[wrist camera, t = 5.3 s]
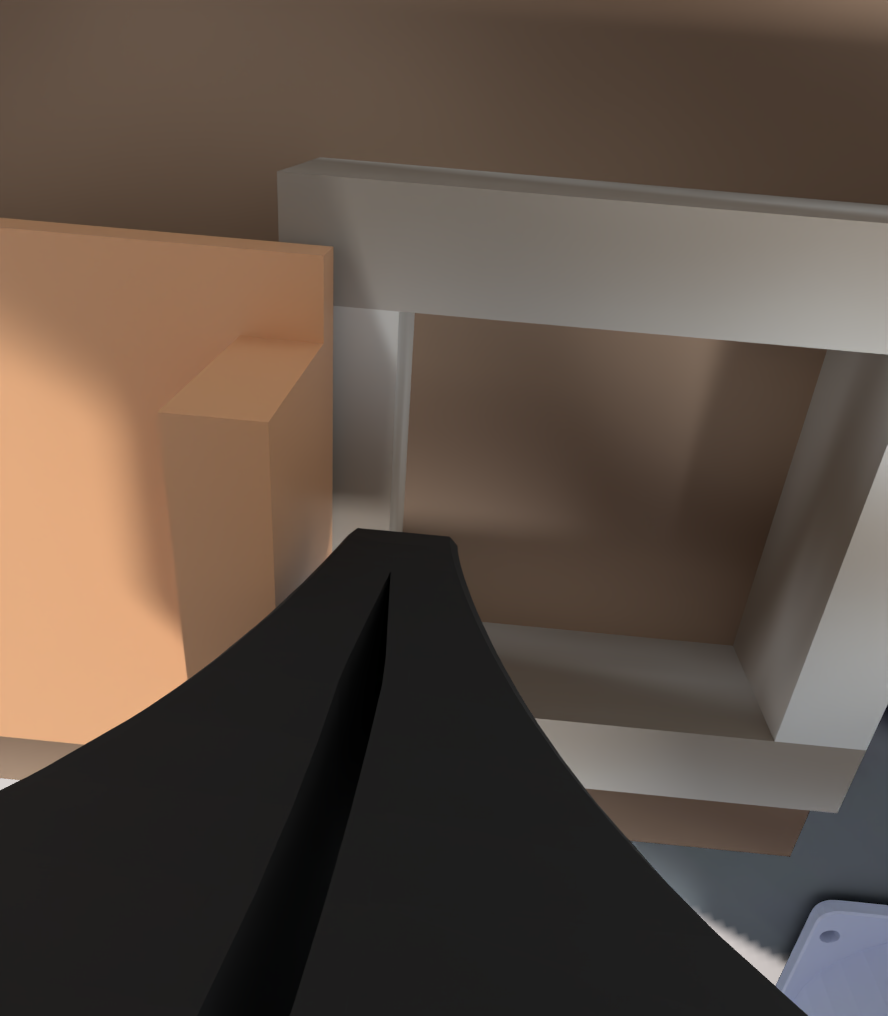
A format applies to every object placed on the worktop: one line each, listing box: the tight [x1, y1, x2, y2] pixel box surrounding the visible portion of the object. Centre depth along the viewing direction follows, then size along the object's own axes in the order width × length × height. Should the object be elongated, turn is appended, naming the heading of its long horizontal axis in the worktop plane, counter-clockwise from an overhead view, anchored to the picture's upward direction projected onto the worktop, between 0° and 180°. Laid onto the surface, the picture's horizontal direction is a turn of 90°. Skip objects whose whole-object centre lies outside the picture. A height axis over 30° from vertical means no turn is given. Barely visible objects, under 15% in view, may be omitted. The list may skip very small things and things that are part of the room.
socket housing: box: [0, 0, 888, 857], centre depth 13 cm, size 18×19×4 cm
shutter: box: [0, 218, 334, 745], centre depth 10 cm, size 8×8×3 cm
